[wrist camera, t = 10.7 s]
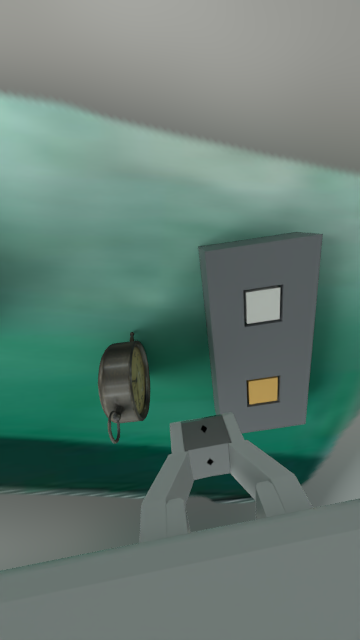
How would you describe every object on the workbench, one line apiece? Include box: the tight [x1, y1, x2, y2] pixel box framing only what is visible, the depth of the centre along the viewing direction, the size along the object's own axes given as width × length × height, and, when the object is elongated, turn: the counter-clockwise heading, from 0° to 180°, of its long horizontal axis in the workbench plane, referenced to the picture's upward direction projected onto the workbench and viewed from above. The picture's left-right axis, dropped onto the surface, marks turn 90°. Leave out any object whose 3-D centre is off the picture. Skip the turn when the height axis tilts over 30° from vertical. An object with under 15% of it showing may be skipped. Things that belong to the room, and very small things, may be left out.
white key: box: [243, 285, 280, 324], centre depth 32 cm, size 4×4×3 cm
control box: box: [198, 232, 323, 433], centre depth 36 cm, size 14×30×6 cm, turn 8°
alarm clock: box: [98, 332, 150, 443], centre depth 32 cm, size 11×5×16 cm, turn 8°
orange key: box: [246, 376, 278, 404], centre depth 38 cm, size 4×4×3 cm
